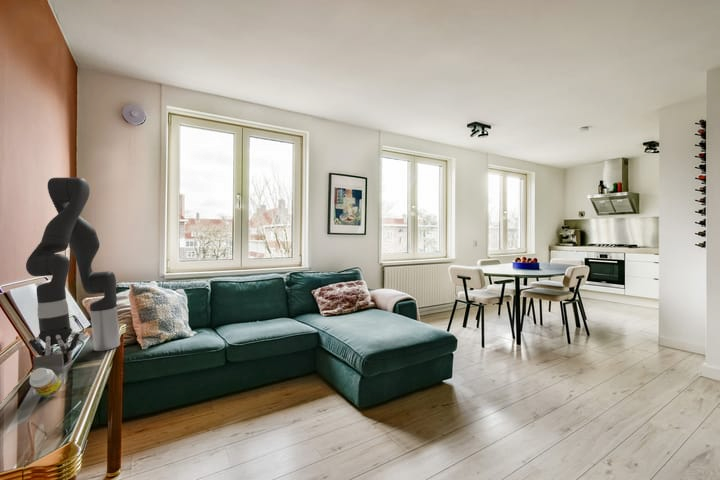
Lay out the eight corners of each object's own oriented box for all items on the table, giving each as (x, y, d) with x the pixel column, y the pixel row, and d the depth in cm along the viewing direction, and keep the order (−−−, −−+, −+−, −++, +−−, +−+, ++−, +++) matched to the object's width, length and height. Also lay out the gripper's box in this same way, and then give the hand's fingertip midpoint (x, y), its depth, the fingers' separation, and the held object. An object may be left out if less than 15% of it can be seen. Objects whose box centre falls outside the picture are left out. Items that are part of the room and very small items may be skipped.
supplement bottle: (35, 397, 104) (21, 383, 97) (45, 380, 108) (32, 365, 101) (57, 397, 106) (44, 383, 99) (65, 379, 110) (54, 365, 103)
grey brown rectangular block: (53, 363, 117) (52, 346, 117) (78, 359, 120) (77, 342, 120) (34, 377, 105) (32, 358, 105) (62, 372, 108) (61, 354, 108)
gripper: (83, 308, 118) (88, 356, 119) (32, 314, 113) (37, 365, 114) (75, 313, 111) (80, 364, 112) (19, 320, 106) (25, 373, 107)
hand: (58, 364), depth 113 cm, fingers closed on grey brown rectangular block, 3 cm apart
